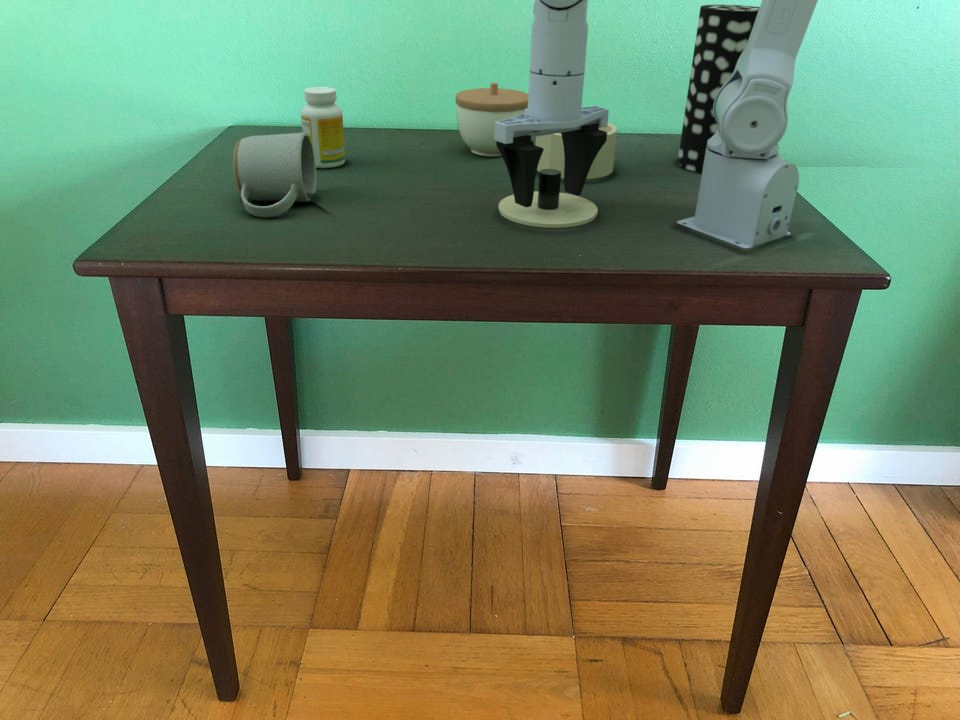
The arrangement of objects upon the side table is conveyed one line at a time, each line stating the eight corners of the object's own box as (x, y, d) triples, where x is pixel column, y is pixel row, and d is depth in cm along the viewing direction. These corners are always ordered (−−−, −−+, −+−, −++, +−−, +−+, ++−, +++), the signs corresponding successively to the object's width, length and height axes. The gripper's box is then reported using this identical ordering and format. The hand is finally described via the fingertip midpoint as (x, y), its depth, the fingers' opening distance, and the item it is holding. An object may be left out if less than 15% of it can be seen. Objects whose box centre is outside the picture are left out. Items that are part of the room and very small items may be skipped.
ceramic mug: (251, 188, 94) (243, 124, 90) (319, 189, 94) (313, 125, 90) (227, 219, 85) (216, 150, 81) (302, 221, 85) (295, 151, 81)
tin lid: (617, 220, 87) (622, 176, 84) (541, 240, 81) (544, 193, 78) (552, 194, 94) (554, 152, 92) (478, 211, 88) (479, 167, 86)
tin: (628, 174, 102) (633, 129, 99) (570, 187, 97) (574, 140, 94) (575, 156, 109) (578, 114, 106) (518, 168, 104) (520, 123, 101)
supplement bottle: (298, 167, 102) (291, 92, 97) (314, 156, 107) (308, 84, 102) (337, 170, 101) (331, 94, 96) (351, 159, 106) (346, 86, 101)
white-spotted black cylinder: (716, 177, 102) (745, 13, 92) (665, 163, 107) (687, 6, 97) (750, 166, 107) (781, 9, 97) (700, 154, 112) (724, 3, 102)
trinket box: (523, 163, 106) (526, 93, 101) (447, 157, 107) (447, 88, 103) (534, 144, 115) (537, 78, 110) (464, 139, 117) (464, 74, 112)
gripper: (581, 60, 86) (572, 179, 93) (477, 71, 79) (475, 200, 86) (627, 70, 81) (613, 194, 88) (521, 83, 74) (515, 218, 81)
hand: (548, 198), depth 87 cm, fingers open, 7 cm apart
